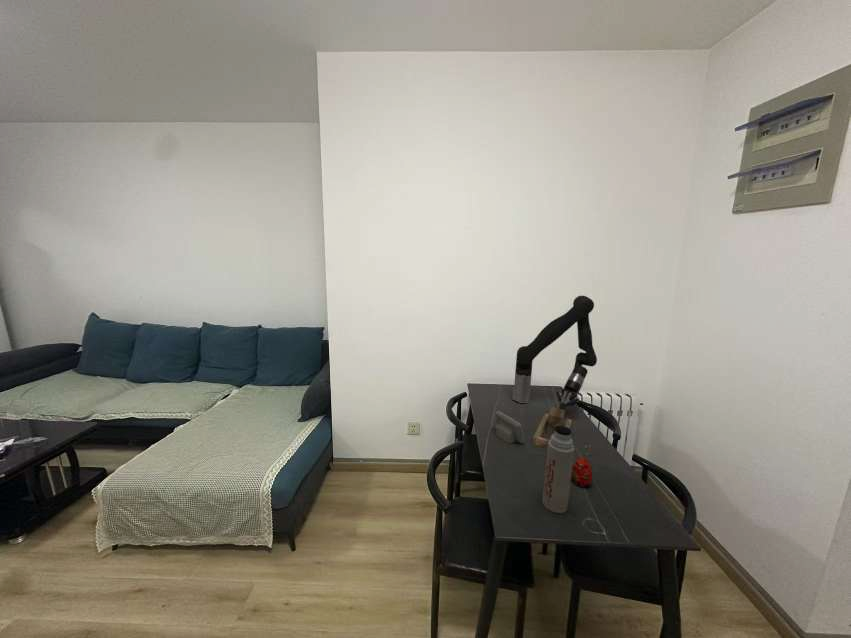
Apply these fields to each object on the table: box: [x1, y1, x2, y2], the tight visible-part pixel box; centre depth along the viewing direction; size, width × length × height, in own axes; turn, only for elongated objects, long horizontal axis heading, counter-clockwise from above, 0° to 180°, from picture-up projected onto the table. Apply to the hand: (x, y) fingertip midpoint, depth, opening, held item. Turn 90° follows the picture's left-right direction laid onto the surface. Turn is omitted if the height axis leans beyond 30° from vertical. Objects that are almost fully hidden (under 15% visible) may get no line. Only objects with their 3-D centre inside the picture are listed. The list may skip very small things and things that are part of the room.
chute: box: [532, 413, 573, 450], centre depth 154 cm, size 13×28×4 cm, turn 150°
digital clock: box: [494, 410, 526, 445], centre depth 150 cm, size 16×9×11 cm, turn 19°
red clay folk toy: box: [571, 444, 593, 488], centre depth 120 cm, size 8×7×15 cm
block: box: [546, 406, 566, 434], centre depth 159 cm, size 6×10×9 cm, turn 150°
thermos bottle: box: [542, 425, 575, 514], centre depth 107 cm, size 8×8×28 cm
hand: (561, 410), depth 168 cm, fingers closed
